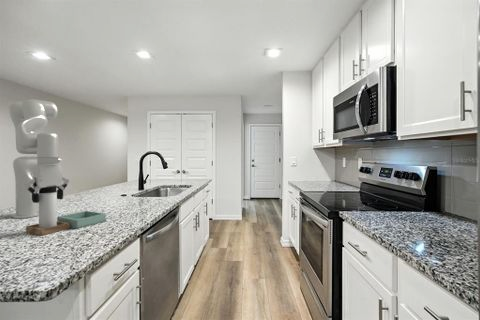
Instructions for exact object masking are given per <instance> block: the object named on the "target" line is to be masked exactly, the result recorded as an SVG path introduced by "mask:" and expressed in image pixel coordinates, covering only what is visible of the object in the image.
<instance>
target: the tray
mask: <svg viewBox="0 0 480 320" xmlns="http://www.w3.org/2000/svg"><path fill="white" fill-rule="evenodd" d="M57 221H60V222H66V223H70V228H71V229H74V228H76V229H75V230H79V228H80V229H83V228H87V227H91V226H94V224H95V225H97V224H98V223H99V224H103V223H106V222H107V213H104V212H97V211H91V210H83V211H79V212H78V211H77V212H72V213H69V214H65V215H59V216H58V215H57ZM90 225H91V226H90ZM82 227H83V228H82Z"/></svg>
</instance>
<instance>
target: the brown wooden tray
mask: <svg viewBox="0 0 480 320" xmlns="http://www.w3.org/2000/svg"><path fill="white" fill-rule="evenodd" d="M66 229H67V230H70V223H66V222H60V221H57V226H53V227H49V228H45V229H41V228H39V223H36V224H31V225H26V226H25V230H26V231H25V233H28V234H33V235H37V236H47V235H49V234H50V235H51V234H54V233H59V232H64V231H66Z"/></svg>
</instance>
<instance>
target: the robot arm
mask: <svg viewBox="0 0 480 320" xmlns="http://www.w3.org/2000/svg"><path fill="white" fill-rule="evenodd" d="M8 108H9V109H8V112H9V116H10V119H11V121H12V124H13V126H14V129H15V147H16V148H15V149H16V151H17V153H19V154H22V155H36V156H19V157H16V158H15V159H14V160H12V161H13V162H12V169H13V172H14V177H15V178H14V180H15V183H14V184H15V208H14V211H15V213H13V214H12V215H11V218H13V219H26V218H27V219H28V218H34V217H39V190H40V189H41V188H47V187H53V186H56V192H57V193H56V194H57V200H63V198H64V191H65V189H66V187H67V186H68V185H69V183H70V182H69V181H70V180H69V179H67V178H65V177H63V173H62V172H63V171H62V168H61V164H59V163H61V162H62V159H61V158H60V157H59V135H58V133H53V132H37V131H38V130H43V129H44V128H45V127H47V125H49V124H48V122H49V121H50V120H51V121H52V120H54V119H56V118H57V117H58V114H59V111H58V107H57V105H56V104H55V103H54V102H53V101H49V100H48V101H47V100H43V99H41V100H40V99H35V98H34V99H32V98H31V99H30V98H29V99H25V100H23V101H13V102H11V103H10V104H9V107H8Z"/></svg>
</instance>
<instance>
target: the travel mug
mask: <svg viewBox="0 0 480 320" xmlns="http://www.w3.org/2000/svg"><path fill="white" fill-rule="evenodd" d="M57 205H58V199H57V188H56V186H53V187H47V188H41V189H40V190H39V216H38V224H39V228H41V229H45V228H49V227H53V226H57V217H58V214H57V213H58V206H57Z"/></svg>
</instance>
